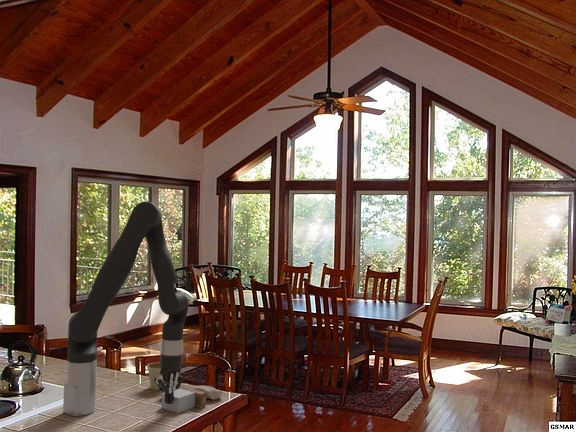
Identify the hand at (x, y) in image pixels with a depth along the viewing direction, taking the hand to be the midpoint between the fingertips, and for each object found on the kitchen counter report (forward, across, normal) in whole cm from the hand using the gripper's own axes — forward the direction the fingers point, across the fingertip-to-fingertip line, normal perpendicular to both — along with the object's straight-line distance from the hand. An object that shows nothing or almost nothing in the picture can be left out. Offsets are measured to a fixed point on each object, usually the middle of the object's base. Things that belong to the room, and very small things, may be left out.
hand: (168, 403), depth 197 cm
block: (+3, +6, +1) cm, 7 cm away
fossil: (+3, +20, +1) cm, 20 cm away
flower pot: (+3, +17, +23) cm, 29 cm away
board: (+3, +11, +4) cm, 12 cm away
